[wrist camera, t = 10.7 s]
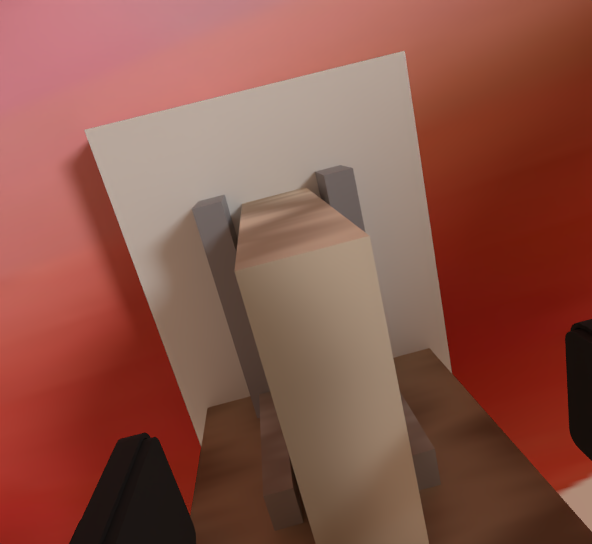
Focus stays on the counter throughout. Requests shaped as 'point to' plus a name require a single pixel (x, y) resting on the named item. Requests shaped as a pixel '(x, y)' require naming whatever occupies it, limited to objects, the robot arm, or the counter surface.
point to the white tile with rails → (260, 184)
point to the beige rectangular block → (329, 368)
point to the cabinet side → (427, 462)
